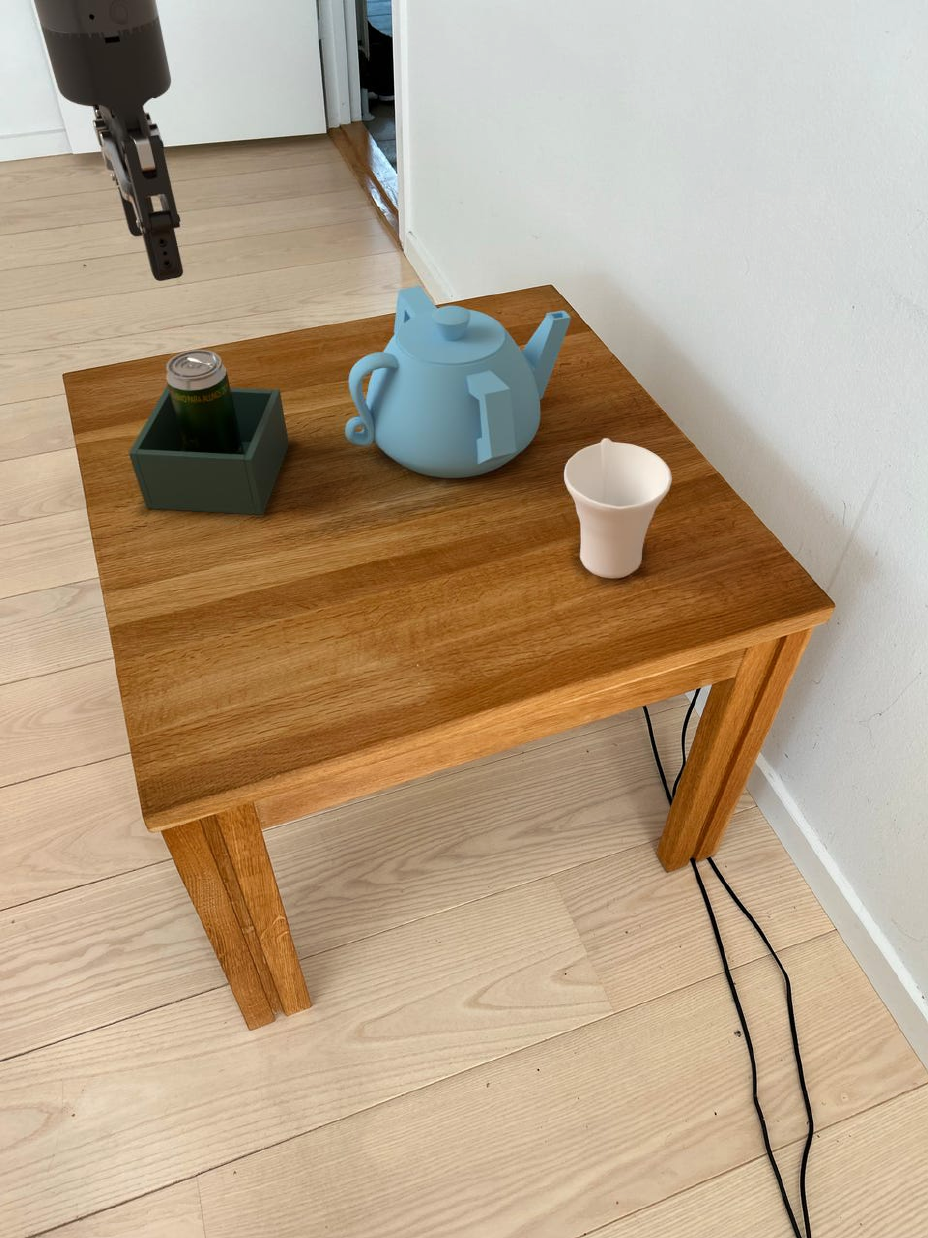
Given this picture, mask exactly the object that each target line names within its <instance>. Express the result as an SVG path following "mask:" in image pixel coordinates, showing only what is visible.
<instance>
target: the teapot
mask: <svg viewBox="0 0 928 1238" xmlns="http://www.w3.org/2000/svg"><path fill="white" fill-rule="evenodd" d="M395 309H396V310H395V317H394V318H395V319H394V328H393V333H394V334H393V336H392V337H391V339H390V340H389V342H388V343H387V344H386V346H385V348H384V350H383V351H381V352H380V351H379V352H373V353H370V354H367V355H365V356H364V357H361V358H360V359H359V360H357V361H356V363H354V365H353V366H352V368H351V370H350V372H349V375H348V388H349V393H350V396H351V399H352V401H353V404H354V406H355V407H356V410H357V413H358V414H359V416H353V417H351V418H350V419H349V420H348V421H347V422H346V425H345V427H344V428H345V429H344V434H345V437H346V439H347V441H348V442H349V443H350V444H352V445H355V446H358V447H367V446H370V445H371V444H373V443H375V444H376V445H377V448H379V449H380V450H381V451H382V452H383V453H385V454H386V455H387V456H388V457H390V459H392V460H394V461H395V462H396V463H398V464H399V465H401V466H402V467H404V468H406V469H408V470H410V471H412V472H415V473H418V474H421V475H424V476H427V477H433V478H441V479H460V478H461V479H463V478H469V477H470V478H471V477H476V476H478V475H479V476H480V475H483V474H487V473H490V472H492V471H494V470H496V469H499V468H501V467H503V466H504V465H506V464H507V463H508V462H510V461H512V460H513V459H514V458H515V457H517V456H519V454H520V453H522V452H523V451H524V450H525V449H526V448H527V447H528V446H529V445H530V444H531V443H532V441H533V440H534V438H535V436H536V434H537V432H538V430H539V427H540V423H541V400H542V399H543V397H544V395H545V392H546V389H547V386H548V384H549V381H550V378H551V375H552V373H553V370H554V367H555V364H556V362H557V359H558V356H559V353H560V351H561V348H562V345H563V342H564V340H565V337H566V335H567V331H568V328H569V326H570V323H571V319H572V318H571V315H570V314H568V313H567V312H566V310H558V311H550V312H546V313H545V317H544V319H543V320H542V322H540V324H539V326H538V327H537V329H536V330H535V332H534V333H533V334H532V336H531V338H529V340H528V341H527V343H526V344H525V346H524V347H523V349H522V350H521V349H520V347H519V346H518V344H517V343H516V341H515V340H514V338H513V336H512V335H511V334H510V333H509V332H508V330H507V329H506V328H505V327H504V325H503V324H502V323H501V322H500V321H498V320H496V319H495V318H494V317H492V316H491V315H489V314H486V313H483V312H481V311H477V310H473V309H467V308H465V307H463V306H459V305H445V306H441V307H438V308H437V306H436V305H435V303H434V302H433V301H432V299H431V298H430V297H429V296H428V294H427V293H426V291H425V290H424V289H423V287H422V286H421V284H417V285H413V286H411V287H406V288H403V289H402V288H401V289H398V291H397V299H396V308H395ZM370 373H372V374H371V376H370V379H369V383H368V388H367V393H366V397H365V396H364V393H363V380H364V379H365V378H366V377H367V376H368V375H369V374H370ZM358 427H363V429H362V430H360V431H356V429H357V428H358Z"/></svg>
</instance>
